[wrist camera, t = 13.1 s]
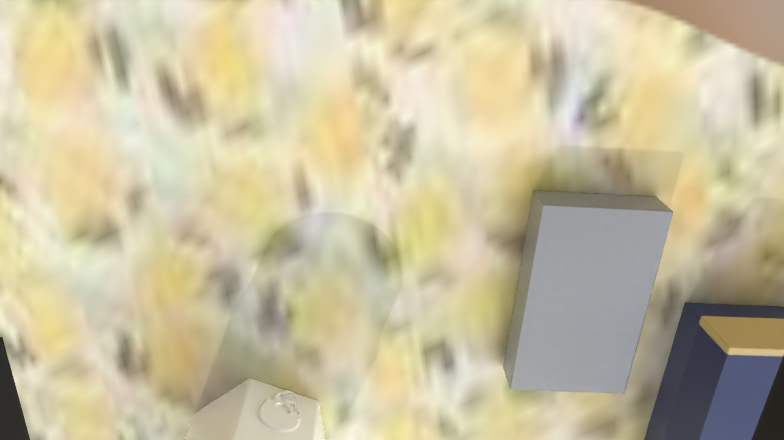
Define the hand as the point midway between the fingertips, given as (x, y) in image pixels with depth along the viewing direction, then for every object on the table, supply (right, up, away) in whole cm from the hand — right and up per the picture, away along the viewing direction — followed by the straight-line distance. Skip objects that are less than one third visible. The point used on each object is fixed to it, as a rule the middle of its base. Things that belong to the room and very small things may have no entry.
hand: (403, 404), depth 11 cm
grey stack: (+10, +1, +28) cm, 29 cm away
